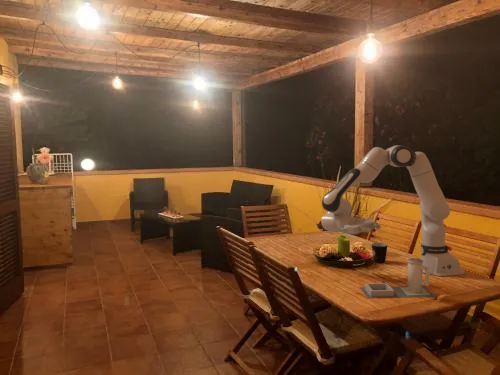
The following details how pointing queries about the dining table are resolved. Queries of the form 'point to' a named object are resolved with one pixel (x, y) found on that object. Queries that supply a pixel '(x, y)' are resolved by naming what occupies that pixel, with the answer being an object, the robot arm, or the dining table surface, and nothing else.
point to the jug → (416, 275)
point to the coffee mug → (379, 252)
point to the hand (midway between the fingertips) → (375, 228)
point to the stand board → (392, 291)
